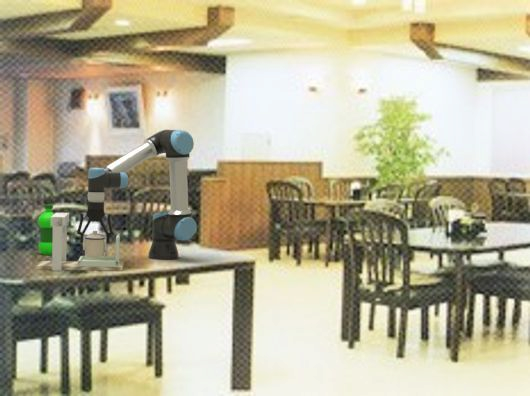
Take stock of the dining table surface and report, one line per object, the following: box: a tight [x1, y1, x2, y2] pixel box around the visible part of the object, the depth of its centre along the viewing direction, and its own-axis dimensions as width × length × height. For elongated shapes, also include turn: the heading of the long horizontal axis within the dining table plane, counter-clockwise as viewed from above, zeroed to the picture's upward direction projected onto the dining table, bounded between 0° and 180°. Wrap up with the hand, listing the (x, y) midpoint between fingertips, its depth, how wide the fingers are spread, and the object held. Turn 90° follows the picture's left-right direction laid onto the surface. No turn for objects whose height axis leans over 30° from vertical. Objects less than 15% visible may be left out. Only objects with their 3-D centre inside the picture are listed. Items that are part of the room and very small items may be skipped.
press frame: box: [51, 212, 70, 272], centre depth 432 cm, size 6×24×24 cm, turn 7°
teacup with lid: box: [82, 230, 105, 257], centre depth 434 cm, size 12×9×12 cm
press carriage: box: [77, 232, 121, 267], centre depth 435 cm, size 18×17×14 cm
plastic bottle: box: [37, 204, 55, 256], centre depth 475 cm, size 10×10×25 cm
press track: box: [36, 260, 125, 272], centre depth 434 cm, size 38×17×2 cm, turn 97°
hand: (94, 249), depth 435 cm, fingers closed on teacup with lid, 9 cm apart
